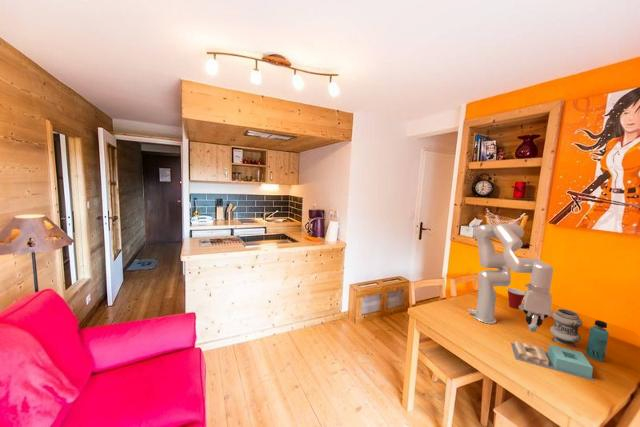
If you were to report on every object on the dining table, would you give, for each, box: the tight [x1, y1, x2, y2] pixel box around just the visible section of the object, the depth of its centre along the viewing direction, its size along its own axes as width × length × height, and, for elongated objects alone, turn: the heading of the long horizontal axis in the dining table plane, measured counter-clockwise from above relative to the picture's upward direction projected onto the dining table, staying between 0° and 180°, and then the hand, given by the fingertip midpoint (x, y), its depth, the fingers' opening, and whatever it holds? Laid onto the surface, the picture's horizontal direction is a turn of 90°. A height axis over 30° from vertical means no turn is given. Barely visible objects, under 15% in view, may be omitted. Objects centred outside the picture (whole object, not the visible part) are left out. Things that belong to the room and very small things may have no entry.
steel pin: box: [527, 312, 539, 333], centre depth 127 cm, size 3×3×9 cm
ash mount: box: [514, 340, 549, 366], centre depth 128 cm, size 11×11×2 cm
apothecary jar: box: [549, 308, 583, 348], centre depth 140 cm, size 12×12×18 cm
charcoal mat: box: [510, 342, 597, 382], centre depth 125 cm, size 28×15×2 cm, turn 62°
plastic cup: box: [506, 287, 526, 310], centre depth 182 cm, size 11×11×12 cm
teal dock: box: [547, 344, 594, 378], centre depth 121 cm, size 12×12×5 cm
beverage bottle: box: [585, 319, 610, 362], centre depth 127 cm, size 6×7×20 cm
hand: (533, 324), depth 127 cm, fingers closed on steel pin, 3 cm apart
